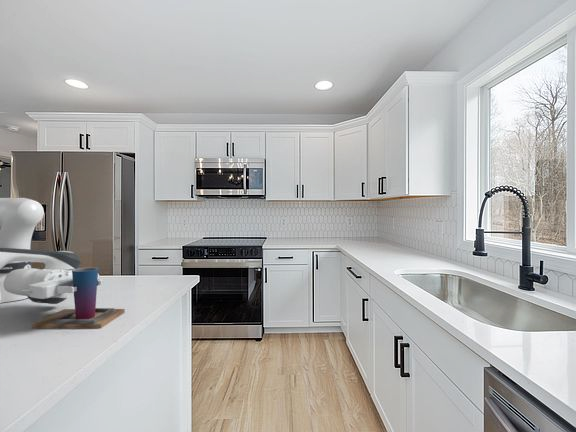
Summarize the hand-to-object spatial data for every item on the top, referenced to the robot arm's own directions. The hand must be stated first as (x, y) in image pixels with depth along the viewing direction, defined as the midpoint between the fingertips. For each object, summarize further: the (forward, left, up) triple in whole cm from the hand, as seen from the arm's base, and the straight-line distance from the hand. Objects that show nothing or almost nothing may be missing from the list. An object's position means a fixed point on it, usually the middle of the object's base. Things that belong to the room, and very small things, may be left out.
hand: (88, 285), depth 97 cm
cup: (-1, 0, -10) cm, 10 cm away
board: (-3, +1, -11) cm, 11 cm away
